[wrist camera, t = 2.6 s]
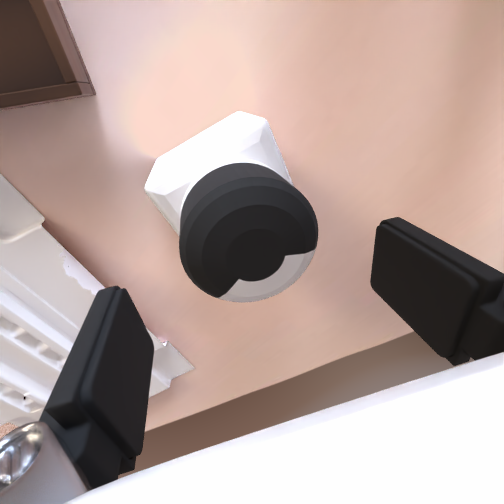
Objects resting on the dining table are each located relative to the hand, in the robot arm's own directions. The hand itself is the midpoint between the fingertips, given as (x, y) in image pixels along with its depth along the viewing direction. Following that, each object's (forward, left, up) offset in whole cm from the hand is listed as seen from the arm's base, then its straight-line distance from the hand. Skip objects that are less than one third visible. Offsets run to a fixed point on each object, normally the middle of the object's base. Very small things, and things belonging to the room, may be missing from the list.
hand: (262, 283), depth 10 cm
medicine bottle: (0, 0, -14) cm, 13 cm away
